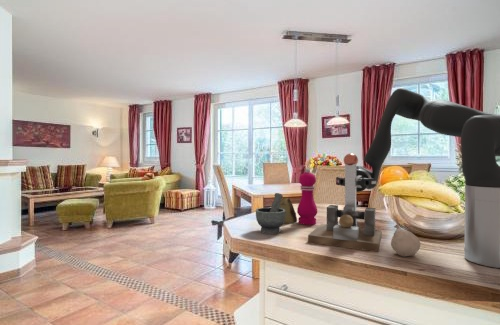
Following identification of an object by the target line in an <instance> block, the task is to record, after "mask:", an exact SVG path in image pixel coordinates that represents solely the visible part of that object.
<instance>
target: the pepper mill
mask: <svg viewBox="0 0 500 325" xmlns="http://www.w3.org/2000/svg"><path fill="white" fill-rule="evenodd" d="M316 181H317V178H316V176H315V175H314V173H313V172H311V169H310V168H305V170H304V172H303V173H302V174H300V176H299V178H298V182H299V184H300V190H301V197H300V201H299V203H298V205H297V211H296V212H297V213H296V214H298V216H299V217H298V224H300V225H305V226H308V225H309V226H312V225H316V224H317V218H316V216H317V214H318V207H317V204H316V203H315V202H316V201H315V200H314V199H315V198H314V191H315V186H314V185H315V184H316Z"/></svg>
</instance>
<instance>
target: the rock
mask: <svg viewBox="0 0 500 325" xmlns="http://www.w3.org/2000/svg"><path fill="white" fill-rule="evenodd" d="M279 208H280V209H285V211H286V215H285V220H284V222H283V224H294V223H298V216H297V213H296V212H297V211H295V208H294V205H293V203H292V201H291V199H290V197H282V199H281V202H280V207H279Z"/></svg>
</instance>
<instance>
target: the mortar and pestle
mask: <svg viewBox="0 0 500 325" xmlns="http://www.w3.org/2000/svg"><path fill="white" fill-rule="evenodd" d="M283 198H284V195H283V194H282V193H280V192H274V199H273V200H272V203H271V207H260V208H256V209H255V218H256V221H257V224H258V225H259V227H260V233H263V234H267V235H277V234H280V233H281V231H280V227H282V225H283V224H284V223H283V222H284V220H285V215H286V211H285V209H280V208H279V207H280V202H281V199H283Z"/></svg>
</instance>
